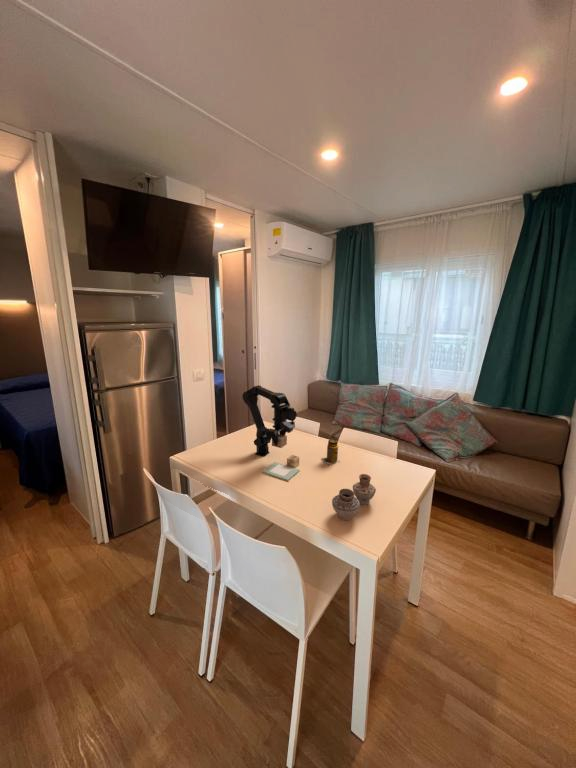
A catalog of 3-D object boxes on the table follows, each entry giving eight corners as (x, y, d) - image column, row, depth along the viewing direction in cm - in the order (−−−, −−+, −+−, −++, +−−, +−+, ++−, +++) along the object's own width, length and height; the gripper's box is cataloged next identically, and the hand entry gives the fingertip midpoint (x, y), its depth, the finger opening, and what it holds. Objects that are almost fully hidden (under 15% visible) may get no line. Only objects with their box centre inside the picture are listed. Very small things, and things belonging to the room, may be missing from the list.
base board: (262, 472, 157) (262, 470, 157) (274, 463, 167) (274, 461, 167) (288, 481, 149) (288, 479, 149) (299, 471, 159) (299, 469, 159)
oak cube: (286, 466, 164) (286, 458, 162) (291, 462, 168) (291, 454, 167) (294, 469, 161) (294, 460, 160) (299, 465, 165) (299, 456, 164)
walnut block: (271, 445, 166) (271, 437, 165) (277, 441, 171) (277, 433, 170) (281, 448, 163) (281, 439, 162) (286, 444, 168) (286, 435, 167)
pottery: (379, 501, 134) (381, 477, 131) (349, 529, 116) (351, 501, 113) (357, 491, 141) (359, 468, 139) (325, 515, 124) (327, 490, 121)
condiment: (340, 461, 170) (341, 442, 167) (327, 464, 166) (328, 444, 163) (333, 456, 176) (334, 437, 173) (320, 459, 172) (321, 439, 170)
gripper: (283, 424, 151) (282, 452, 155) (300, 414, 167) (299, 440, 170) (264, 420, 157) (265, 448, 160) (283, 411, 172) (283, 436, 176)
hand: (279, 443), depth 166 cm, fingers closed on walnut block, 6 cm apart
